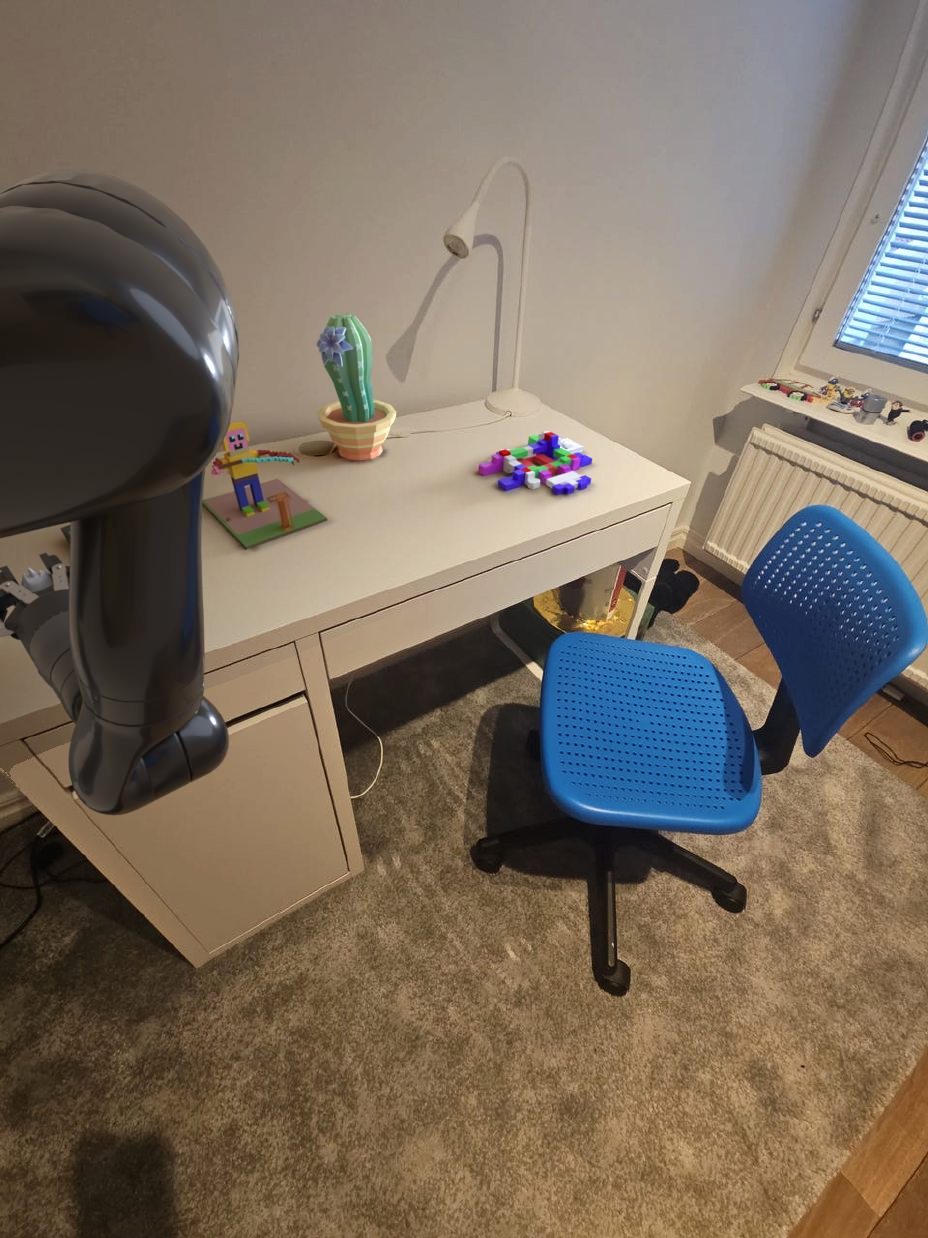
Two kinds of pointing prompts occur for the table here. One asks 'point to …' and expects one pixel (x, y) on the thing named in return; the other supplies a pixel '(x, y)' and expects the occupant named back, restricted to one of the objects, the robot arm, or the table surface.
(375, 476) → the table surface
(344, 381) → the potted cactus
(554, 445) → the building block set
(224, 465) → the figurine
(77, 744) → the robot arm
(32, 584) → the white sculpted piece
